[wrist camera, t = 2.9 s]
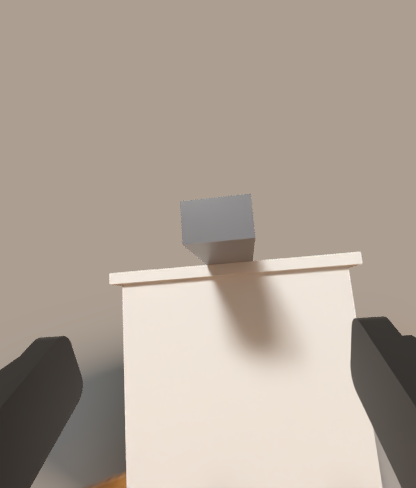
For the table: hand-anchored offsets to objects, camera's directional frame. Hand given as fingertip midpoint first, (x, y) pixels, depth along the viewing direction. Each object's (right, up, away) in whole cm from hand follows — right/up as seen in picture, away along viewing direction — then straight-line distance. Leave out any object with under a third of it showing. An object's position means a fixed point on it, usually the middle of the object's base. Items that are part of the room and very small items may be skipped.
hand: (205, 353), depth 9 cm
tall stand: (+5, -31, +20) cm, 37 cm away
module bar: (+2, +1, +20) cm, 20 cm away
